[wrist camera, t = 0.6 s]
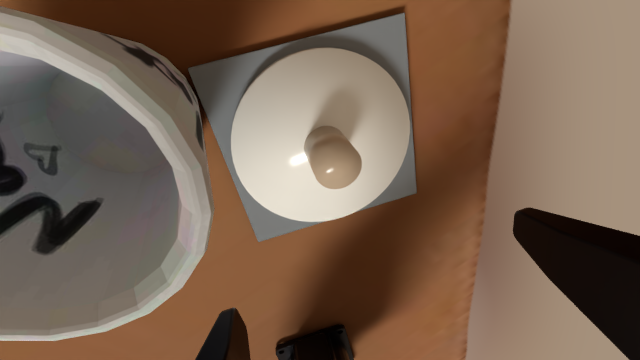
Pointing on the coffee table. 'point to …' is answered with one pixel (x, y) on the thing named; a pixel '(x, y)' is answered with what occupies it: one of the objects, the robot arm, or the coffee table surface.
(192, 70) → the mat
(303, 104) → the lid
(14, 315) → the mug
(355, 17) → the coffee table surface
